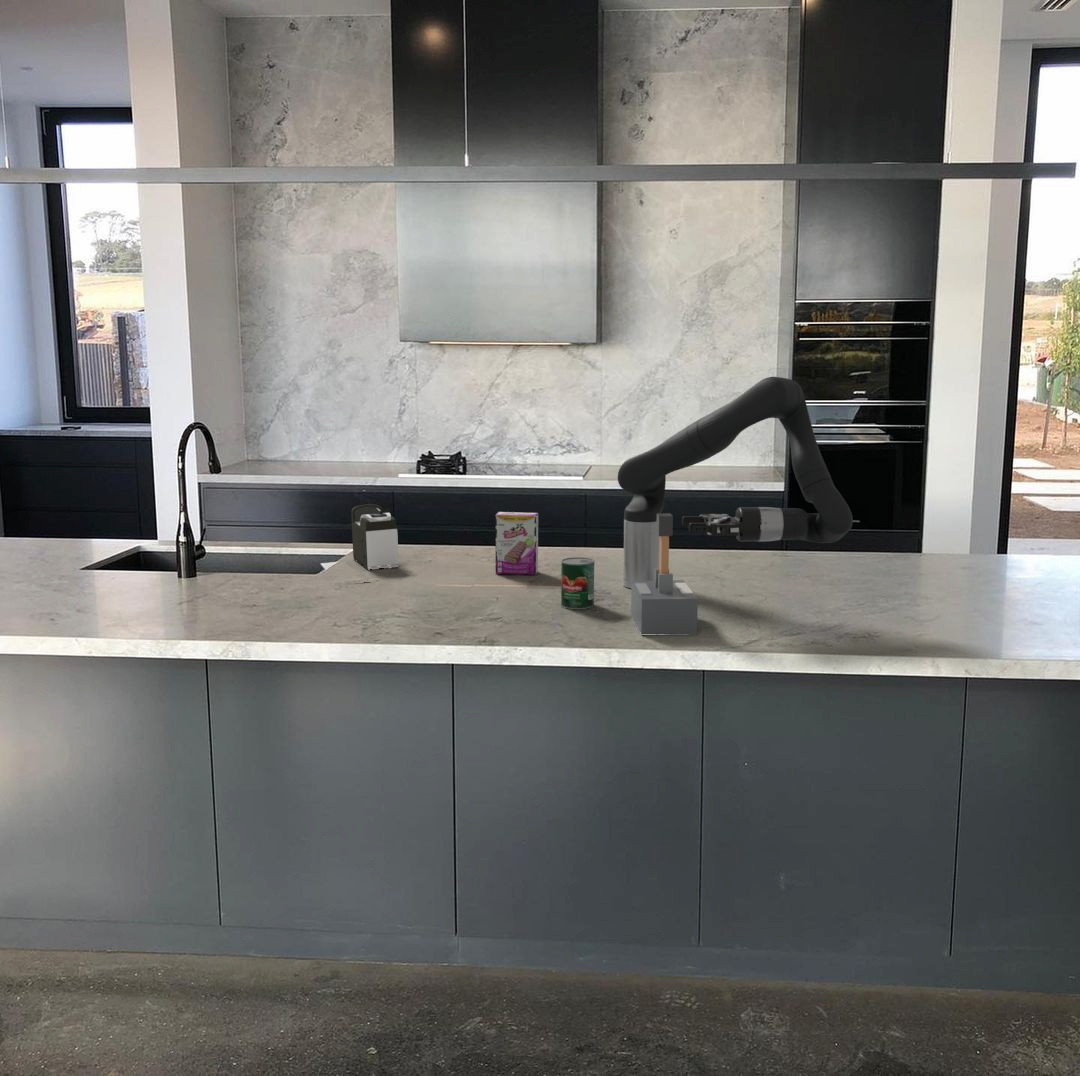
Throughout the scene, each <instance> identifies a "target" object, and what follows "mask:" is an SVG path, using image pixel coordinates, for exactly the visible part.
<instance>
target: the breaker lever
mask: <svg viewBox="0 0 1080 1076" xmlns="http://www.w3.org/2000/svg"><path fill="white" fill-rule="evenodd" d="M673 516H674V515H672V514H671V512H670V513H667V512H665V513H664V512H663V513H662V512H661V513H659V514H657V528H656V533H657V535H658V536H660V551H659V574H668V571H669V572H670V569H669V568H670V567H669V566H670V564H669V561H670V560H669V558H670V556H669V555H670V553H669V552H670V537H673V534H674V531H673V530H674V522H673V520H674V517H673Z"/></svg>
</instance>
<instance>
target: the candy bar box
mask: <svg viewBox="0 0 1080 1076" xmlns="http://www.w3.org/2000/svg"><path fill="white" fill-rule="evenodd" d="M538 572H539V512H515V511H511V512H510V511H497V513H496V514H495V575H511V576H512V575H515V576H518V575H519V576H536V575H537V573H538Z"/></svg>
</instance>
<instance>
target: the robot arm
mask: <svg viewBox="0 0 1080 1076" xmlns="http://www.w3.org/2000/svg"><path fill="white" fill-rule="evenodd" d="M768 419H778V420H779V422H780V423H781V425H782V427H783V429H784V430H785V433H786V435H787V437H788V441H789V445H790V453H791V455H790V456H791V465H792V470H793V473H794V476H795V479H796V482H797V484H798V486H799V488H800V491H801V493H802V495H803V498H804V499H805V501H806V502H808V503H810V504H812V505H814V508H815V509H816V511H817V513H813V512H811V513H810V512H806V511H805V510H804V509H803V508H797V507H783V508H782V507H771V506H770V507H769V506H758V507H755V506H754V507H753V506H751V507H750V506H748V507H747V506H745V507H741V506H740V507H738V508H736V511H735V516H729V514H727V513H701V514H700V515H699V516H698V515H697V516H696V515H690V516H686V515H685V516H682V518H681V521H682V522H681V524H682V527H684V528H686V527H688V532H689V534H697V535H698V534H707V535H708V536H712V537H729V536H730V537H731V536H732V537H733V536H734V537H736V540H737V541H738V542H740V543H741V542H772V541H773V542H774V541H794V540H796V541H798V540H800V541H804V542H810V543H817V544H818V543H819V544H831V543H835V542H838V541H839V540H841V539H842V538H843V537H844V536H846V534H848V532H850V530H851V529H852V527H853V524H854V522H853V521H854V520H853V514H852V511H851V509H850V506H849V505H848V503H847V502H846V500H845V498H844V497H843V496H842V494H841V493H840V492H839V491H840V490H838V489H837V488H836V486H835V485H834V481H833V480H832V476H831V474H830V472H829V470H828V467H827V465H826V463H825V460H824V458H823V456H822V453H821V451H820V450H821V449H820V447H819V445H818V441H817V438H816V435H815V433H814V428H813V424H812V421H811V417H810V413H809V410H808V406H807V402H806V398H805V394H804V392H803V389H802V387H801V385H800V384H799V383H798V382H796V381H795V380H793V379H791V378H786V377H779V376H768V377H765V378H762V379H761V380H760V381H758V382H757V383H755V384H754V385H752V386H751V387H750V388H748V389H747V390H746V391H744V392H743V393H742V394H740V395H739V396H738V397H735V399H733V400H732V401H730V402H729V403H726V404H725V405H723V406H721V407H719V408H717V409H716V410H714V411H711V412H710V413H709V414H706V415H704V416H702V417H701V418H699V419H698V420H696V421H694V422H692V423H691V424H688V425H687V426H686V427H684V428H683V429H681V430H680V431H678V432H676V433H674V434H673V435H672V436H670V437H668V438H667V439H665V440H664V441H663V442H662V443H660V444H658V445H657V446H655V447H653V448H651V449H649V450H647V451H644V452H642V453H639V454H638V455H635V456H632V457H630V458H628V459H626V460H625V461H624V462H623V463H622V464H621V466H620V467H619V469H618V472H617V481H618V482H617V483H618V486H619V487H620V488H621V489H622V490H623V491H625V492H627V493H629V494H631V495H632V494H633V496H632V498H631V501H630V502H629V504H627V506H626V507H625V508H624V513H623V514H624V515H623V586H624V587H625V588H628V589H631V581H648V580H655V569H659V551H660V536H658V535H657V533H656V528H657V514H659V513H662V512H663V509H664V506H665V498H666V482H667V481H666V476H667V475H669V474H670V473H673V472H677V471H680V470H683V469H686V468H688V467H691V466H694V465H696V464H699V463H701V462H704V461H706V460H708V459H710V458H712V457H713V456H715V455H718V454H719V453H721V452H722V451H724V450H725V449H727V448H728V447H729V446H730V445H731V444H732V443H733V442H734V440H736V438H737V437H738V436H739V435H740V434H741V433H742V432H743V431H744V430H745V429H747V428H749V427H751V426H753V425H755V424H758V423H760V422H762V421H764V420H768Z"/></svg>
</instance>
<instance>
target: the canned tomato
mask: <svg viewBox="0 0 1080 1076" xmlns="http://www.w3.org/2000/svg"><path fill="white" fill-rule="evenodd" d="M560 563H561V574H560V575H561V578H560V579H561V581H560V582H561V583H560V588H561V589H560V590H561V591H560V592H561V594H560V595H561V601H560V603H561V604H560V606H561V607H562V608H563V607H565V608H564V609H566V608H569V609H568V610H572V609H583V610H587V609H586V608H589V609H592V608H594V607H595V604H594V603H595V559H594V558H590V557H583V556H582V557H581V556H577V557H575V556H574V557H567V558H563V559H561V560H560ZM593 606H594V607H593ZM591 607H592V608H591Z"/></svg>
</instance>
